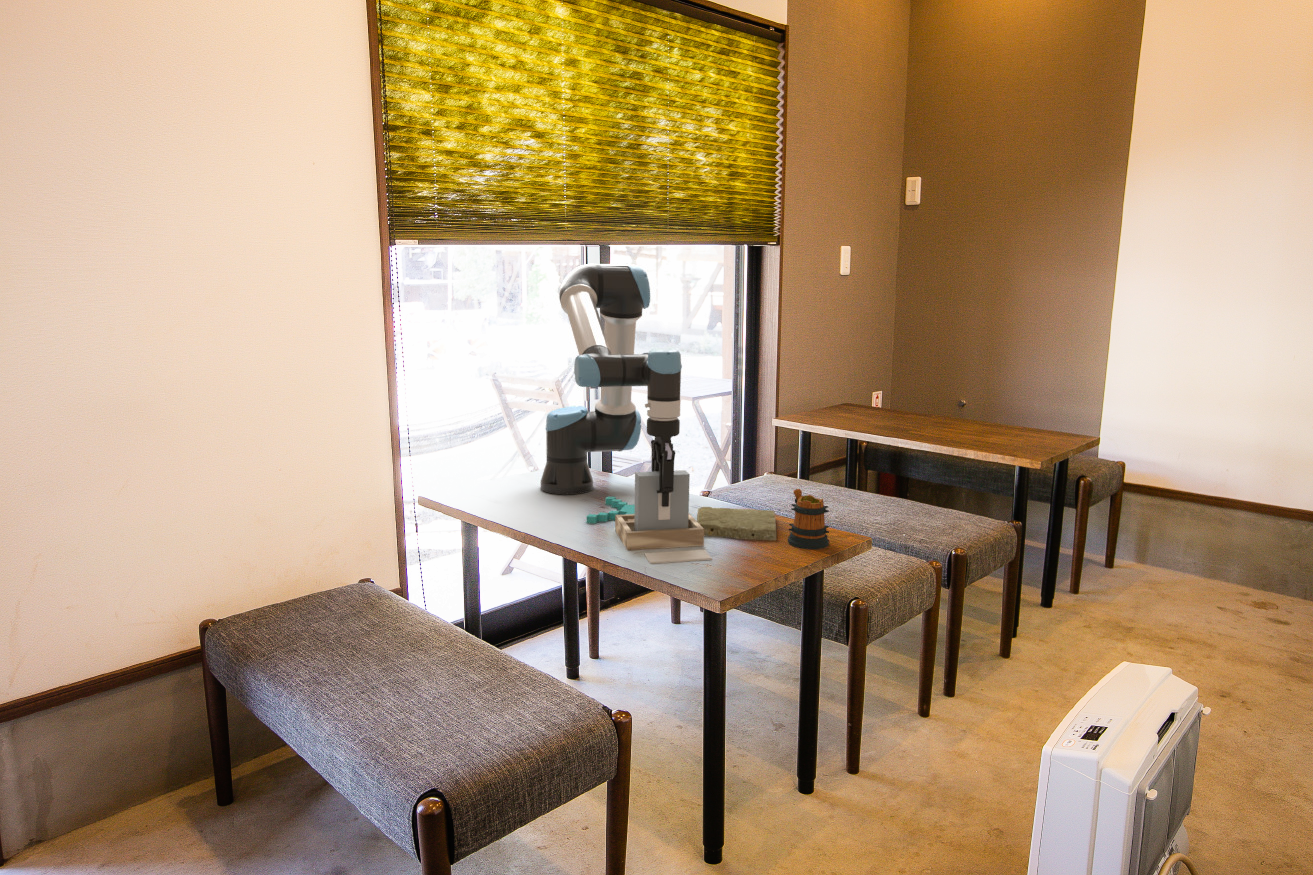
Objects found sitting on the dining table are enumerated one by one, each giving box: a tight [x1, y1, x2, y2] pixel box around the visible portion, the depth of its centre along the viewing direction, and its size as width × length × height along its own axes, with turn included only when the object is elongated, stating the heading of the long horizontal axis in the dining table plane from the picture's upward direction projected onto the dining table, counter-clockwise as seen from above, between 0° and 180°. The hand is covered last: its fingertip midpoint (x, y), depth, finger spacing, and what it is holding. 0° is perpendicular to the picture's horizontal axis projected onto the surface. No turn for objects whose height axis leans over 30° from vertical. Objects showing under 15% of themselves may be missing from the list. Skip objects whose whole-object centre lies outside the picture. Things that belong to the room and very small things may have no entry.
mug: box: [787, 488, 830, 551], centre depth 207 cm, size 13×10×12 cm
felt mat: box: [643, 549, 713, 565], centre depth 195 cm, size 6×14×1 cm, turn 103°
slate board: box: [634, 469, 690, 531], centre depth 204 cm, size 4×12×16 cm, turn 103°
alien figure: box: [586, 496, 635, 525], centre depth 227 cm, size 20×2×20 cm
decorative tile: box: [696, 506, 777, 541], centre depth 218 cm, size 19×20×4 cm
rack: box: [614, 513, 705, 551], centre depth 208 cm, size 15×18×4 cm
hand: (661, 516), depth 205 cm, fingers closed on slate board, 4 cm apart
